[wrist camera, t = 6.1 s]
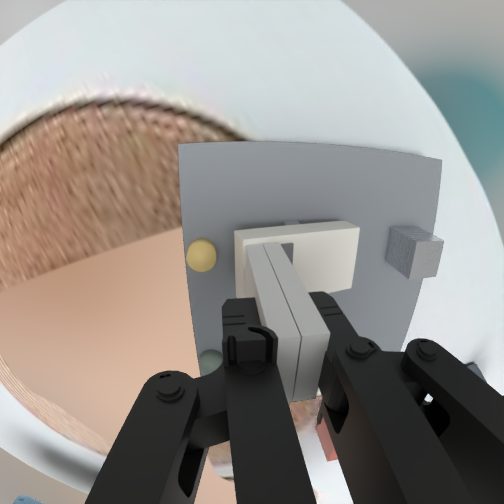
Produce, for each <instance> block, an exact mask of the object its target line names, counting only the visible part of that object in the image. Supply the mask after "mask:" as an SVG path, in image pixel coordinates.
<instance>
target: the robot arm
mask: <svg viewBox="0 0 504 504" xmlns="http://www.w3.org/2000/svg"><path fill="white" fill-rule="evenodd" d="M222 328H223V339H222V353H223V361H222V363H221V365H220V366H219V367H218V368H217V369H216V370H215V371H213V372H212V373H210V374H207V375H205V376H201V377H198V378H195V379H193V378H191V377H190V376H189V375H188V374H186V373H183V372H179V371H164V372H160V373H157V374H155V375H154V376H152V377H150V378H149V379H148V381H147V382H146V383H145V384H144V386H143V388H142V390H141V392H140V393H139V395H138V397H137V399H136V401H135V403H134V405H133V407H132V409H131V411H130V413H129V415H128V416H127V418H126V420H125V422H124V424H123V426H122V428H121V430H120V432H119V434H118V436H117V438H116V440H115V442H114V444H113V446H112V448H111V450H110V452H109V454H108V456H107V458H106V460H105V462H104V464H103V466H102V468H101V470H100V472H99V474H98V476H97V478H96V480H95V483H94V485H93V487H92V489H91V491H90V493H89V495H88V497H87V499H86V502H85V504H194V501H195V497H196V494H197V490H198V486H199V483H200V479H201V475H202V471H203V467H204V464H205V460H206V456H207V453H208V449H209V447H210V446H213V445H217V444H220V443H223V442H226V441H229V440H230V447H231V456H232V466H233V475H234V483H235V491H236V500H237V504H317V502H316V499H315V495H314V492H313V489H312V485H311V482H310V478H309V475H308V471H307V468H306V464H305V461H304V457H303V454H302V450H301V447H300V443H299V440H298V436H297V433H296V429H295V426H294V422H293V419H292V415H291V412H290V408H289V405H288V403H290V402H291V401H292V402H296V401H303V400H309V399H315V398H316V396H317V392H318V388H319V390H320V392H321V395H322V397H323V399H322V403H321V406H320V410H319V413H318V417H317V425H318V424H321V421H322V418H324V421H325V423H326V426H327V429H328V432H329V435H330V438H331V440H332V443H333V446H334V449H335V452H336V454H337V457H338V460H339V463H340V466H341V469H342V472H343V474H344V477H345V480H346V483H347V486H348V489H349V492H350V495H351V497H352V500H353V503H354V504H504V397H503V396H502V395H500V394H499V393H498V392H497V391H496V390H495V389H493V388H492V387H491V386H490V385H489V384H487V383H486V382H485V381H484V380H483V379H481V378H480V377H479V376H478V375H477V374H475V373H474V372H473V371H472V370H470V369H469V368H468V367H467V366H465V365H464V364H463V363H462V362H461V361H459V360H458V359H457V358H456V357H454V356H453V355H452V354H451V353H449V352H448V351H447V350H445V349H444V348H443V347H442V346H440V345H439V344H437V343H436V342H434V341H432V340H428V339H420V338H418V339H415V340H412V341H411V342H409V343H408V345H407V347H406V350H405V352H394V351H382V350H381V348H380V347H379V346H378V345H377V344H376V343H375V342H374V341H372V340H370V339H368V338H366V337H361V336H359V335H358V334H357V332H356V331H355V329H354V328H353V326H352V325H351V323H350V322H349V320H348V319H347V317H346V316H345V314H343V311H342V310H341V308H340V307H339V305H338V304H337V302H336V301H335V299H334V298H333V297H332V296H330V295H329V294H327V293H326V292H324V291H318V292H307V290H306V288H305V286H304V285H303V283H302V281H301V279H300V278H299V276H298V274H297V272H296V271H295V269H294V267H293V265H292V264H291V262H290V260H289V258H288V257H287V255H286V253H285V251H284V250H283V248H282V246H281V245H280V243H264V244H250V245H246V298H233V299H227V300H226V301H225V303H224V304H223V306H222ZM427 394H429V395H430V396H432V397H433V400H432V401H431V402H427V401H425V400H424V399H425V397H426V396H427ZM13 504H44V503H42V502H40V501H38V500H36V499H33V498H31V497H29V496H26V495H21V496H19V497H17V498H16V500H15V502H14V503H13Z"/></svg>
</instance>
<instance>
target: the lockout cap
mask: <svg viewBox="0 0 504 504" xmlns="http://www.w3.org/2000/svg"><path fill="white" fill-rule="evenodd" d="M316 430H317V433H318V436H319V439H320V442H321V445H322V448H323V451H324V453H325V456H326V459H327V462H328V461H332V460H336V459H338V457H337V454H336V452H335V449H334V446H333V443H332V440H331V438H330V435H329V432H328V429H327V426H326V423H325V421H324V418H322V421H321V424H318V425H317V427H316Z"/></svg>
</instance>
